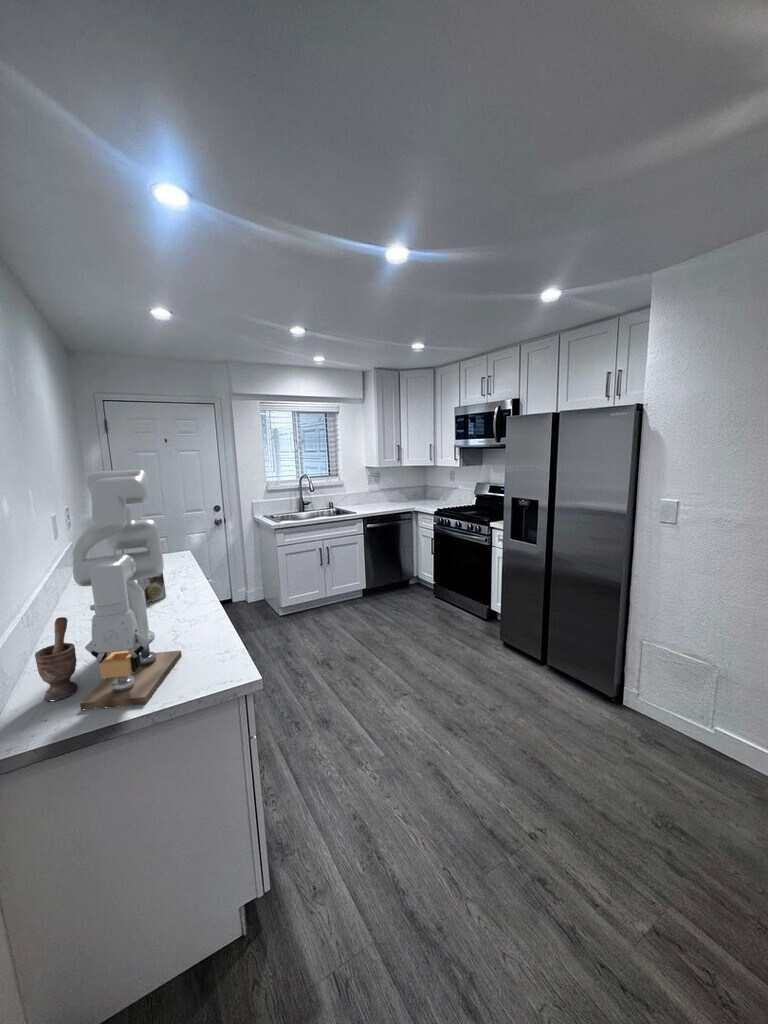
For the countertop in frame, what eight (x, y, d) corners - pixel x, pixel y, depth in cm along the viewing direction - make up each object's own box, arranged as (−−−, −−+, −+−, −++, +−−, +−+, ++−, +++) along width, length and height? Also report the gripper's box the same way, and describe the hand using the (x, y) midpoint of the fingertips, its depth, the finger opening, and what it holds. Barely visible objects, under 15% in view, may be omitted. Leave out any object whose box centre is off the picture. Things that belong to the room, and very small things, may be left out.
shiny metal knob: (133, 667, 126) (130, 645, 125) (141, 658, 132) (138, 637, 131) (151, 665, 127) (148, 643, 126) (159, 657, 132) (156, 636, 131)
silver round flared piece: (109, 693, 113) (105, 668, 112) (118, 683, 118) (115, 659, 117) (129, 691, 113) (126, 666, 112) (138, 681, 118) (135, 657, 117)
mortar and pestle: (43, 688, 121) (31, 622, 118) (79, 677, 126) (69, 613, 123) (42, 706, 112) (29, 635, 109) (82, 693, 117) (71, 625, 114)
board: (81, 710, 109) (79, 703, 109) (129, 661, 135) (128, 655, 134) (146, 704, 111) (145, 696, 110) (181, 656, 136) (180, 650, 136)
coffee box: (159, 595, 197) (155, 561, 195) (166, 597, 194) (162, 563, 191) (139, 601, 190) (134, 566, 188) (146, 604, 186) (141, 568, 184)
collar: (101, 678, 111) (99, 664, 110) (114, 665, 118) (112, 651, 117) (128, 675, 112) (126, 661, 111) (140, 663, 118) (138, 649, 118)
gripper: (68, 616, 107) (79, 681, 110) (140, 610, 109) (149, 674, 112) (85, 605, 115) (95, 667, 117) (152, 600, 117) (160, 661, 119)
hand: (121, 670), depth 115 cm, fingers closed on collar, 6 cm apart
